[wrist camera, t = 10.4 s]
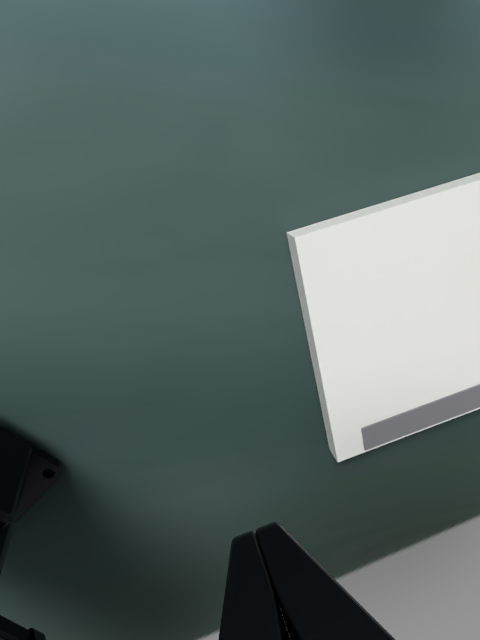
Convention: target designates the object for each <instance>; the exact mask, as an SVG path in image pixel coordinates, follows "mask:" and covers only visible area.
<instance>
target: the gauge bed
mask: <svg viewBox="0 0 480 640" xmlns="http://www.w3.org/2000/svg"><path fill="white" fill-rule="evenodd" d="M286 233H287V238H288V243H289V248H290V253H291V258H292V263H293V269H294V274H295V279H296V284H297V289H298V294H299V299H300V304H301V309H302V314H303V319H304V324H305V329H306V334H307V339H308V344H309V349H310V354H311V359H312V364H313V369H314V374H315V379H316V384H317V389H318V394H319V399H320V404H321V409H322V414H323V419H324V424H325V429H326V434H327V439H328V444H329V449H330V451H331V453H332V454H333V456H334V457H335V459H336V461H337V462H340V461H343V460H346V459H348V458H351V457H354V456H356V455H359V454H362V453H364V452H367V451H369V450H372V449H375V448H377V447H380V446H383V445H385V444H388V443H391V442H393V441H396V440H398V439H401V438H404V437H406V436H409V435H412V434H414V433H417V432H420V431H422V430H425V429H427V428H430V427H433V426H435V425H438V424H441V423H443V422H446V421H449V420H451V419H454V418H457V417H459V416H462V415H464V414H467V413H470V412H472V411H475V410H478V409H480V173H477V174H474V175H471V176H467V177H464V178H461V179H458V180H454V181H451V182H448V183H445V184H441V185H438V186H435V187H432V188H428V189H425V190H422V191H419V192H416V193H412V194H409V195H406V196H403V197H399V198H396V199H393V200H390V201H386V202H383V203H380V204H377V205H373V206H370V207H367V208H364V209H361V210H357V211H354V212H351V213H348V214H344V215H341V216H338V217H335V218H331V219H328V220H325V221H322V222H318V223H315V224H312V225H309V226H306V227H302V228H299V229H296V230H293V231H289V232H286Z"/></svg>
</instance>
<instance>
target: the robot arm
mask: <svg viewBox="0 0 480 640" xmlns="http://www.w3.org/2000/svg"><path fill="white" fill-rule="evenodd" d="M46 469H52V470H53V472H46V471H45V470H46ZM61 470H62V465H61V463H60V462H59V461H58V460H56V459H55V458H53V457H51V456H49V455H47V454H46V453H44V452H42V451H40V450H38V449H36V448H35V447H33V446H31V445H30V444H29V443H28V442H26V441H24V440H22V439H21V438H19V437H17V436H15V435H13V434H11V433H10V432H8V431H6V430H4V429H2V428H1V427H0V574H1V570H2V567H3V563H4V559H5V556H6V552H7V548H8V545H9V541H10V538H11V534H12V530H13V527H14V523H15V522H16V521H17V520H18V519H19V518H20V517H21V516H22V515H23V514H24V513H25V512H26V511H27V510H28V509H29V508H30V507H31V506H32V505H33V504H34V503H35V502H36V501H37V500H38V499H39V498H40V497H41V496H42V495H43V494H44V493H45V492H46V491H47V490H48V489H49V488H50V487H51V486H52V485H53V484H54V483H55V482H56V481H57V480H58V479H59V477H60V475H61ZM256 536H257V537H256ZM257 539H258V540H257ZM258 542H259V543H258ZM259 545H260V546H259ZM260 548H261V549H260ZM261 551H262V552H261ZM262 554H263V555H262ZM263 557H264V558H263ZM264 560H265V561H264ZM265 563H266V564H265ZM266 566H267V567H266ZM267 569H268V570H267ZM280 609H281V610H280ZM281 612H282V613H281ZM282 615H283V616H282ZM283 618H284V619H283ZM284 621H285V622H284ZM285 624H286V625H285ZM286 627H287V628H286ZM287 630H288V631H287ZM288 633H289V634H288ZM289 636H290V637H289ZM290 639H291V640H395V639H394V638H393V637H392V636H391V635H390V634H389V633H388V632H387V631H386V630H385V629H384V628H383V627H382V626H381V625H380V624H379V623H378V622H377V621H376V620H375V619H374V618H373V617H372V616H371V615H370V614H369V613H368V612H367V611H366V610H365V609H364V608H363V607H362V606H361V605H360V604H359V603H358V602H357V601H356V600H355V599H354V598H353V597H352V596H351V595H350V594H349V593H348V592H347V591H346V590H345V589H344V588H343V587H342V586H341V585H340V584H339V583H338V582H337V581H336V580H335V579H334V578H333V577H332V576H331V575H330V574H329V573H328V572H327V571H326V570H325V569H324V568H323V567H322V566H321V565H320V564H319V563H318V562H317V561H316V560H315V559H314V558H313V557H312V556H311V555H310V554H309V553H308V552H307V551H306V550H305V549H304V548H303V547H302V546H301V545H300V544H299V543H298V542H297V541H296V540H295V539H294V538H293V537H292V536H291V535H290V534H289V533H288V532H287V531H286V530H285V529H284V528H283V527H282V526H281V525H280V524H278V523H276V522H273V523H270V524H268V525H265V526H262V527H260V528H258V529H257V530H256V534H255V533H254V532H253V531H249V532H247V533H244V534H242V535H239V536H237V537H235V538H234V539H233V540H232V544H231V551H230V558H229V566H228V573H227V581H226V588H225V596H224V603H223V611H222V618H221V626H220V633H219V640H290ZM0 640H46V639H45V635H44V634H43V633H41V632H39V631H37V630H35V629H33V628H30V629H26V628H24V627H22V626H20V625H18V624H16V623H14V622H12V621H11V620H9V619H7V618H5V617H3V616H1V615H0Z"/></svg>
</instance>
